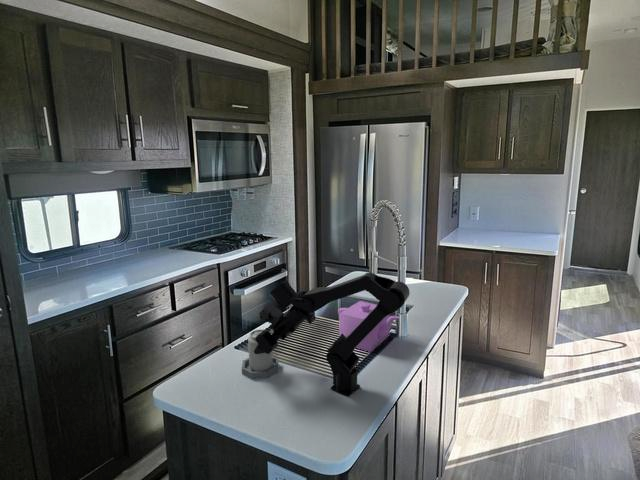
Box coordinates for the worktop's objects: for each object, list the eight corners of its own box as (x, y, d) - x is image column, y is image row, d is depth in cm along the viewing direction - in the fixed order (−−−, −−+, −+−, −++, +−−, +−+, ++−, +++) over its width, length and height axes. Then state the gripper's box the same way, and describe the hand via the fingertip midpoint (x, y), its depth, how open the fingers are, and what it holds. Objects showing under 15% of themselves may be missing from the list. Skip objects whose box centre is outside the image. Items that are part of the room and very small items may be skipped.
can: (262, 375, 132) (260, 340, 129) (244, 369, 136) (242, 334, 133) (277, 365, 138) (276, 331, 135) (260, 359, 142) (258, 326, 139)
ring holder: (286, 367, 138) (285, 361, 137) (259, 382, 129) (259, 376, 128) (261, 356, 145) (261, 351, 144) (235, 370, 136) (234, 364, 136)
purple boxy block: (389, 358, 143) (390, 319, 140) (327, 340, 157) (327, 304, 154) (407, 341, 155) (408, 305, 152) (348, 326, 169) (348, 292, 166)
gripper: (289, 289, 137) (261, 316, 144) (259, 309, 121) (229, 339, 127) (311, 315, 136) (282, 341, 143) (284, 339, 119) (253, 367, 126)
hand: (262, 346), depth 135 cm, fingers open, 9 cm apart
